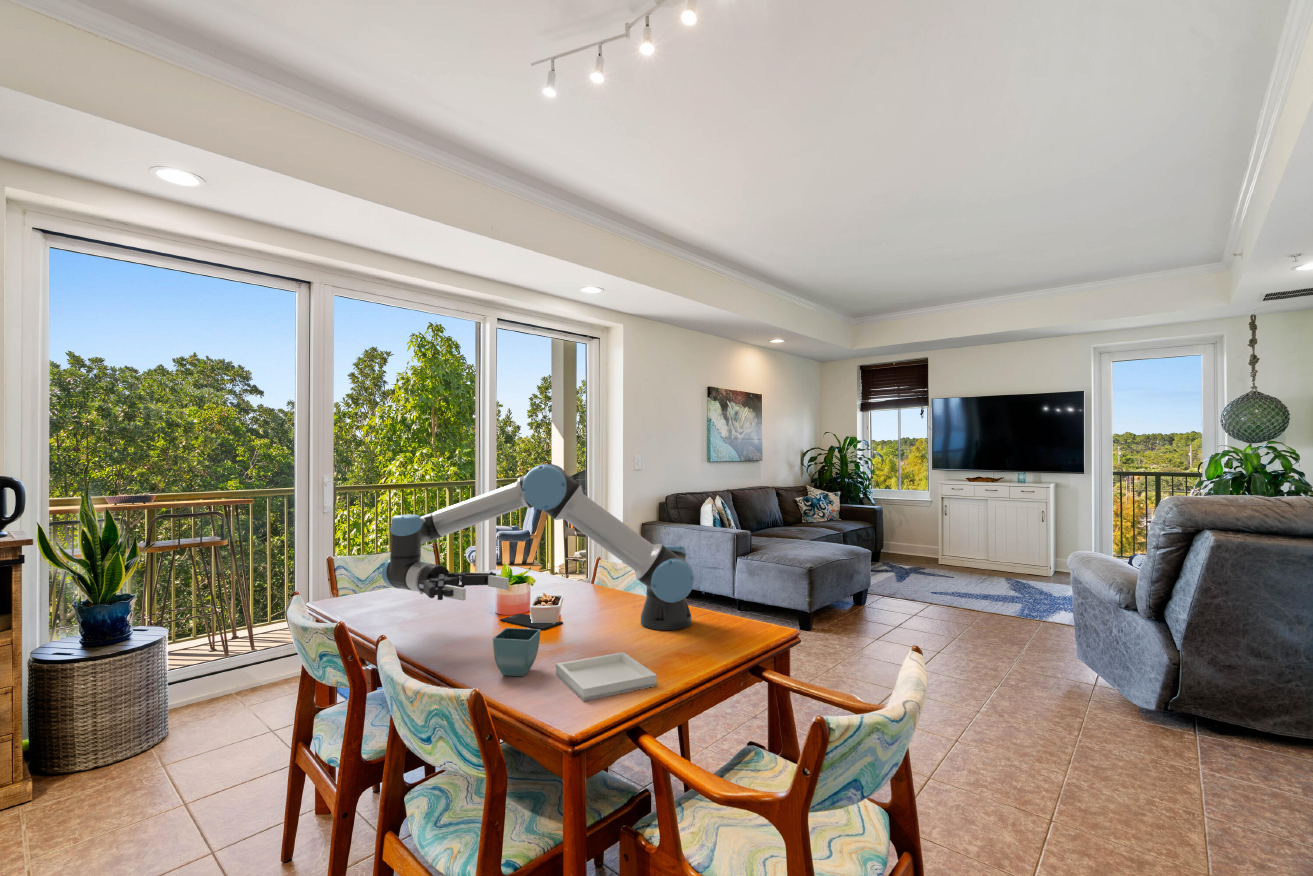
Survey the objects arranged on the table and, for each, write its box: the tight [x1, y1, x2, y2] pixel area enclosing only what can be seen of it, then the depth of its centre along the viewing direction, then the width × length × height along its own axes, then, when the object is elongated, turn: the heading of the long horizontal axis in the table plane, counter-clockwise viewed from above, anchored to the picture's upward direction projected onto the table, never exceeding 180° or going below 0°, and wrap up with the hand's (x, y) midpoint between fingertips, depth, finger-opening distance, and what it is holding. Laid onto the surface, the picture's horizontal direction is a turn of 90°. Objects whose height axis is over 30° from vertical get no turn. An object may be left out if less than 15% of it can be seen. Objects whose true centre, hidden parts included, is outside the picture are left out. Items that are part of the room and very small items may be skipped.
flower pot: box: [492, 627, 541, 677], centre depth 141 cm, size 9×9×9 cm
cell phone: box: [499, 613, 564, 632], centre depth 182 cm, size 9×18×1 cm, turn 57°
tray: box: [555, 651, 658, 702], centre depth 136 cm, size 17×17×2 cm
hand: (487, 588), depth 146 cm, fingers open, 13 cm apart
